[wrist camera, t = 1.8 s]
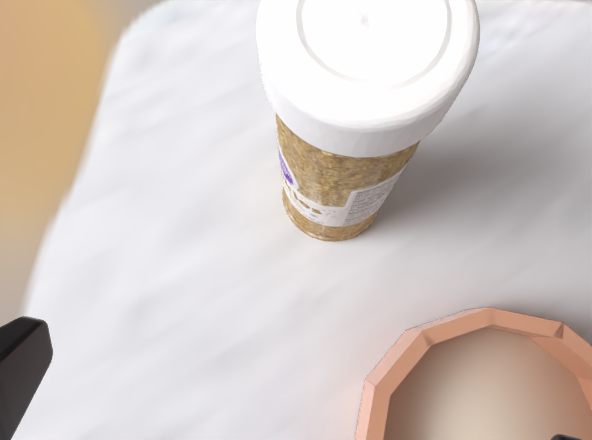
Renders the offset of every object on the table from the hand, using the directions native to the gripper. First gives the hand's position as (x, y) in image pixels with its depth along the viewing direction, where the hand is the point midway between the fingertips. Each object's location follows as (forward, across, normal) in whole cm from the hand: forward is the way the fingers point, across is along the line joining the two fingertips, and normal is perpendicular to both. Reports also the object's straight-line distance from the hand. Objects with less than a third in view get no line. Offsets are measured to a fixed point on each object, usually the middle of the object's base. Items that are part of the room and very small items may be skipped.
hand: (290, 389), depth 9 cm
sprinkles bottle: (+14, 0, +4) cm, 15 cm away
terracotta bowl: (+8, -8, +10) cm, 15 cm away
